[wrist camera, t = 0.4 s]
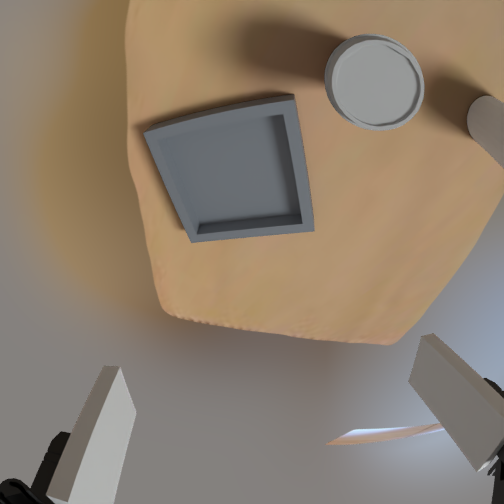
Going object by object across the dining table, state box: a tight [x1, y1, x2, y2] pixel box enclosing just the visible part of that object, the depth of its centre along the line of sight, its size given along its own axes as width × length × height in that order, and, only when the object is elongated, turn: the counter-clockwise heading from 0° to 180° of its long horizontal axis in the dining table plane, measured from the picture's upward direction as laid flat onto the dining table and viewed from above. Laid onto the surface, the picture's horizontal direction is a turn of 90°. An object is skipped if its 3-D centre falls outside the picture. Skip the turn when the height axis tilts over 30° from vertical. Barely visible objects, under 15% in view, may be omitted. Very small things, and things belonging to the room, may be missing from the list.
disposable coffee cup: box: [324, 34, 424, 130], centre depth 25 cm, size 10×10×12 cm
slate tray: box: [143, 94, 315, 243], centre depth 41 cm, size 20×20×3 cm
